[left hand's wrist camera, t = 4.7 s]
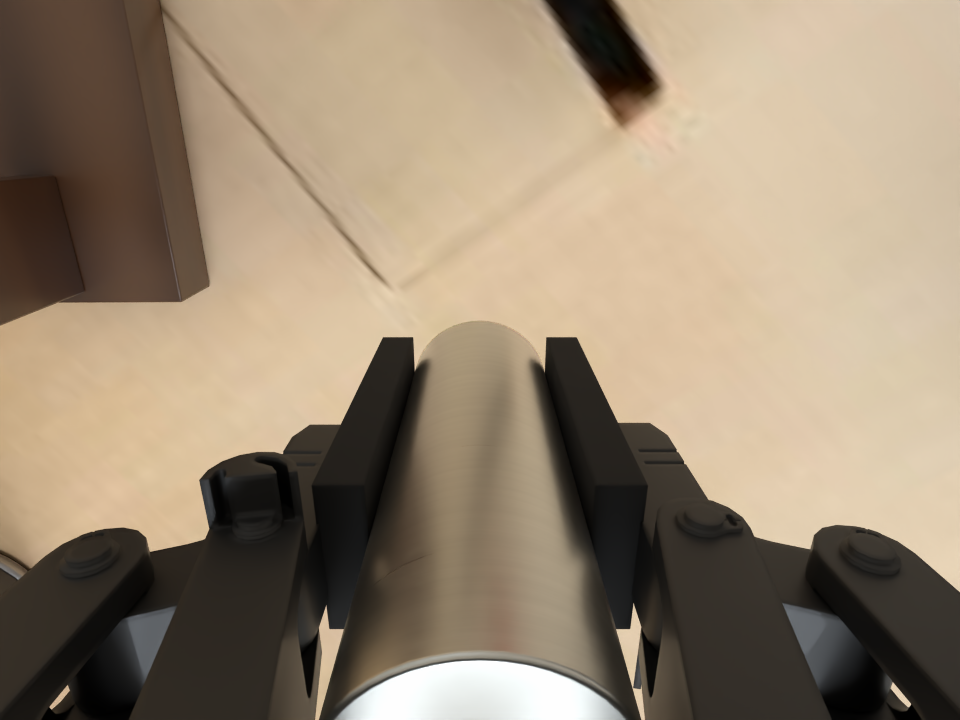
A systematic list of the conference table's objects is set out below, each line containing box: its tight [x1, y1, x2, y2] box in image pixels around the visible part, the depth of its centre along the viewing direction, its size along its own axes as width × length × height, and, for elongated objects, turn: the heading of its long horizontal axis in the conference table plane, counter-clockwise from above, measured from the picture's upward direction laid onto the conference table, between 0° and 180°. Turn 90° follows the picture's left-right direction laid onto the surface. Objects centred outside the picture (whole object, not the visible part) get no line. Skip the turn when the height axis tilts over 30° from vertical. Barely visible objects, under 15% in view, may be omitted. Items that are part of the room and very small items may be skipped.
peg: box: [319, 321, 641, 720], centre depth 10 cm, size 3×3×10 cm
